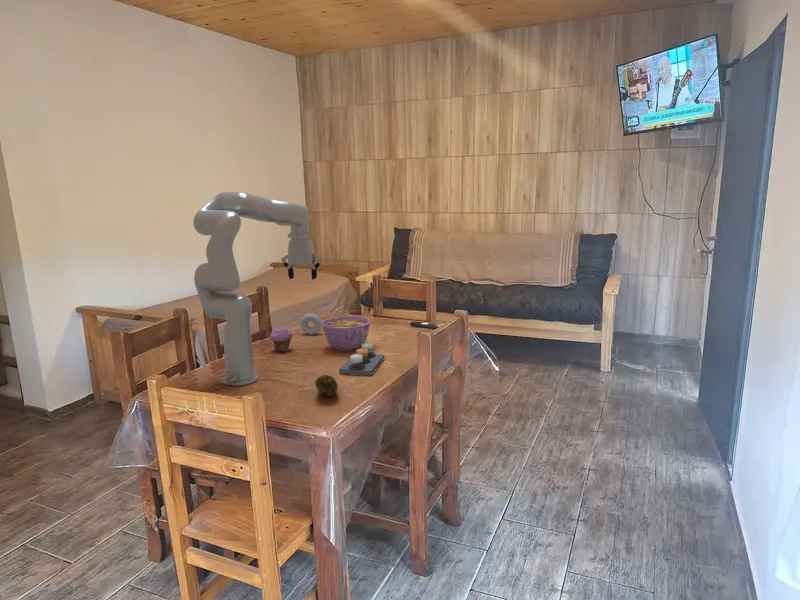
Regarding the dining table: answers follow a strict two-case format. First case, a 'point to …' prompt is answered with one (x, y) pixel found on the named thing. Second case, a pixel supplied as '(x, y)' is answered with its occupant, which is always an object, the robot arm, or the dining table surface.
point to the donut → (311, 330)
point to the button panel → (362, 365)
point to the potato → (326, 385)
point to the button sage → (368, 346)
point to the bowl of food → (346, 332)
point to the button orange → (362, 352)
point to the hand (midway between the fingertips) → (302, 278)
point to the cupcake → (281, 339)
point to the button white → (356, 358)
